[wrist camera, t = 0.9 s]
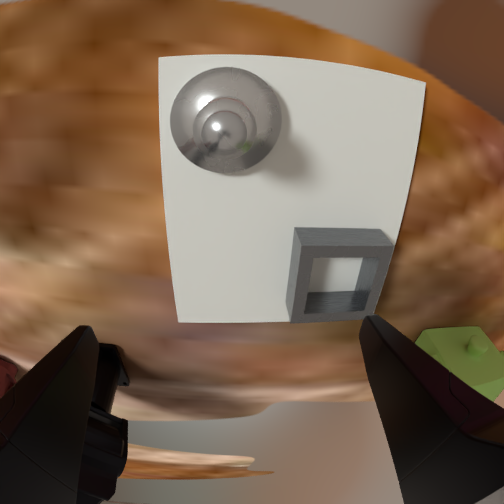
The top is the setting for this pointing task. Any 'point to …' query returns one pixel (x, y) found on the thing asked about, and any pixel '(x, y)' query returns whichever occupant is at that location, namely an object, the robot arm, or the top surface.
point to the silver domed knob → (225, 120)
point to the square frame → (336, 246)
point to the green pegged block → (467, 357)
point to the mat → (286, 184)
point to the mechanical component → (7, 376)
